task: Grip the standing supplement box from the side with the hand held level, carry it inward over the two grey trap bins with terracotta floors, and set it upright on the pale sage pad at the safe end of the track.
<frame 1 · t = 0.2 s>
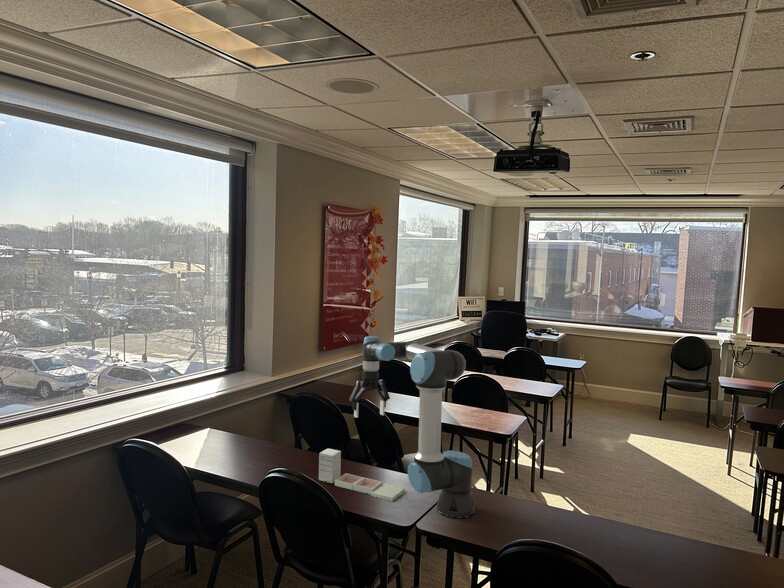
hand: (369, 416, 255), 28 cm above the table, tool pointing down, fingers open, 13 cm apart
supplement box: (329, 479, 250), on the table
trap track: (349, 484, 245), on the table
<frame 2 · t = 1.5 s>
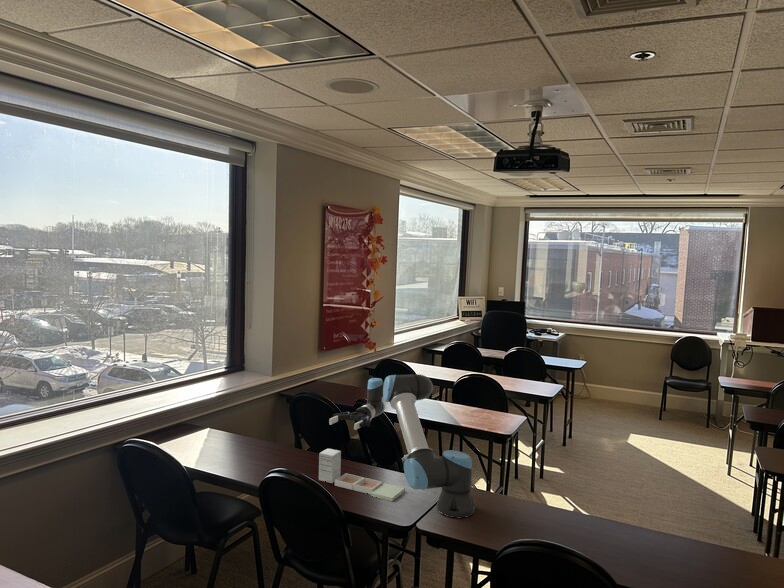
hand: (342, 424, 257), 23 cm above the table, tool horizontal, fingers open, 13 cm apart
nothing on the table moved.
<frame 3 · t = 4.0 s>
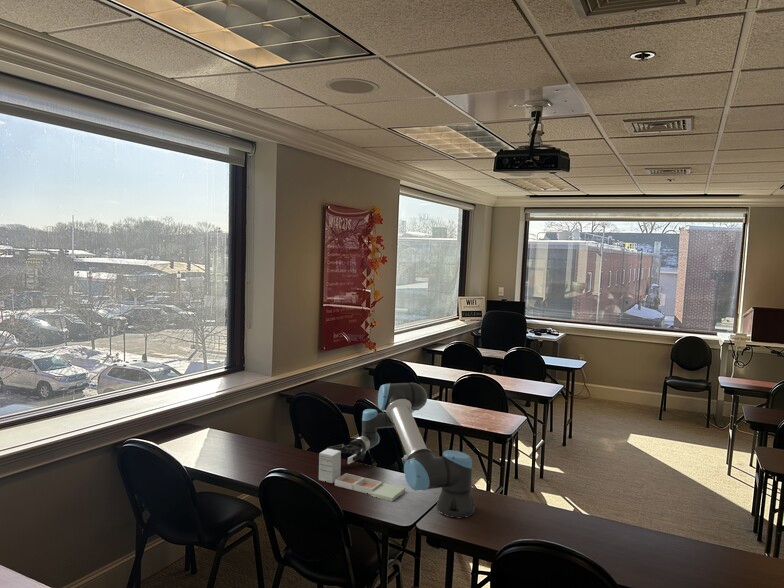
hand: (335, 458, 254), 8 cm above the table, tool horizontal, fingers open, 13 cm apart
nothing on the table moved.
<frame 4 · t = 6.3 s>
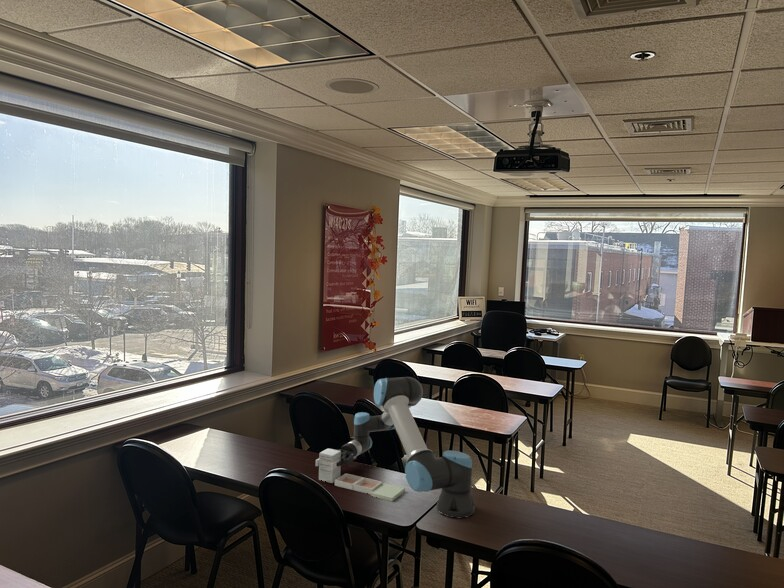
hand: (323, 464, 245), 8 cm above the table, tool horizontal, fingers closed on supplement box, 7 cm apart
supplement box: (329, 479, 250), on the table, touching gripper
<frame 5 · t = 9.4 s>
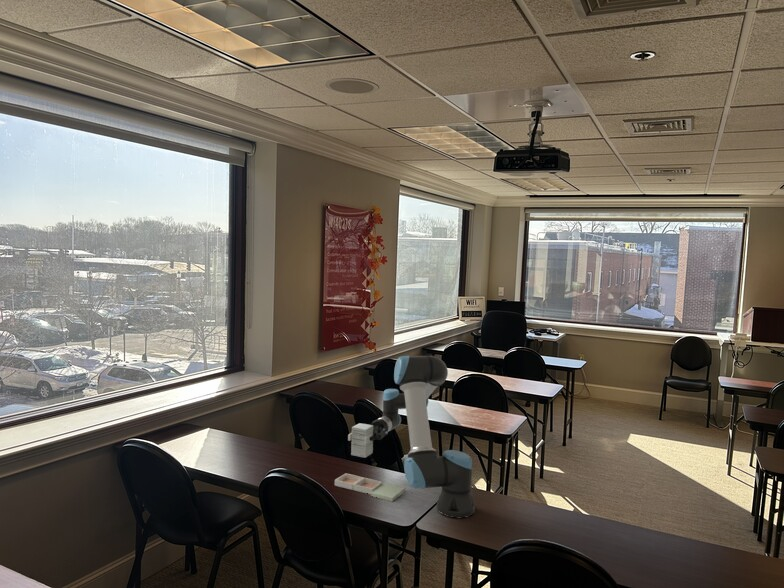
hand: (357, 439, 240), 21 cm above the table, tool horizontal, fingers closed on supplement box, 7 cm apart
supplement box: (361, 454, 245), point 13 cm above the table, touching gripper
when the fingers open (11 cm above the table, at t = 12.9 s): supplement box drops 1 cm, resting on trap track.
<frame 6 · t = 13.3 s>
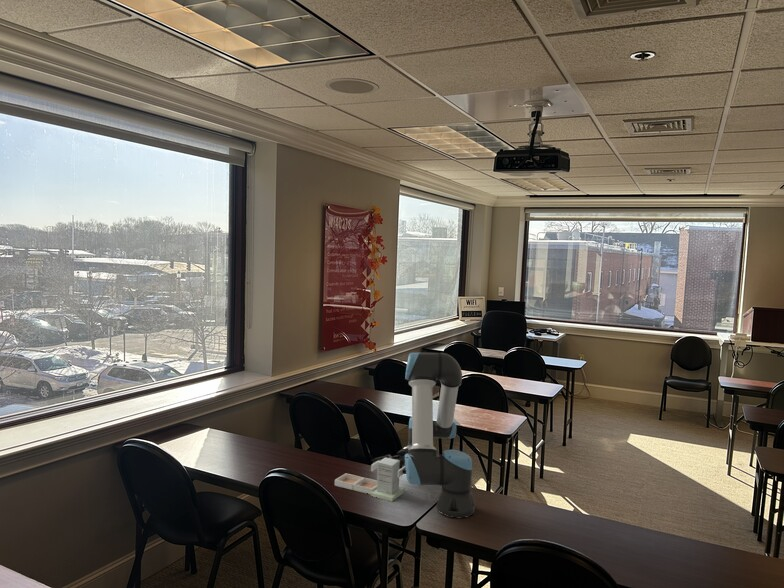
hand: (384, 471, 232), 11 cm above the table, tool horizontal, fingers open, 12 cm apart
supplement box: (387, 490, 236), point 1 cm above the table, touching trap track
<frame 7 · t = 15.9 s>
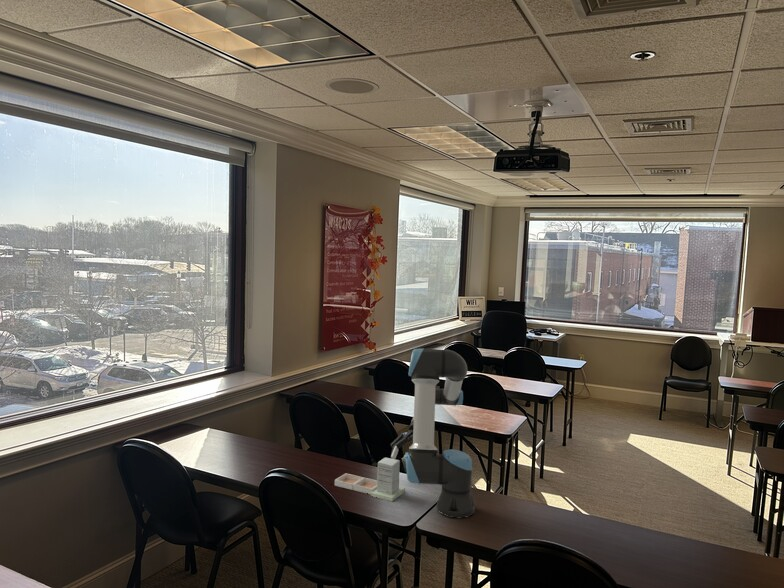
hand: (406, 458, 247), 12 cm above the table, tool tilted 60°, fingers open, 13 cm apart
nothing on the table moved.
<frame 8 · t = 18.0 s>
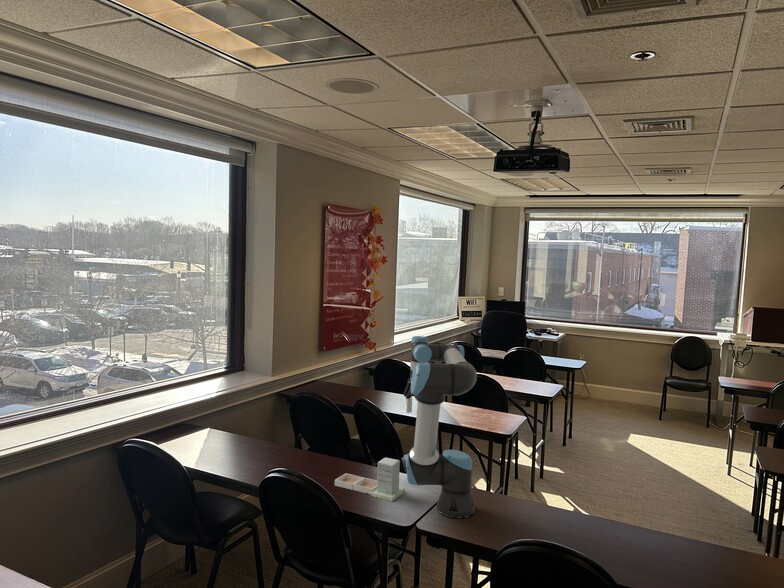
hand: (416, 416, 253), 29 cm above the table, tool pointing down, fingers open, 13 cm apart
nothing on the table moved.
at the end: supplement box inside the target area (0.2 cm from its centre), point 1.3 cm above the table; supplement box tilted 0°; the gripper is holding nothing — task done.
